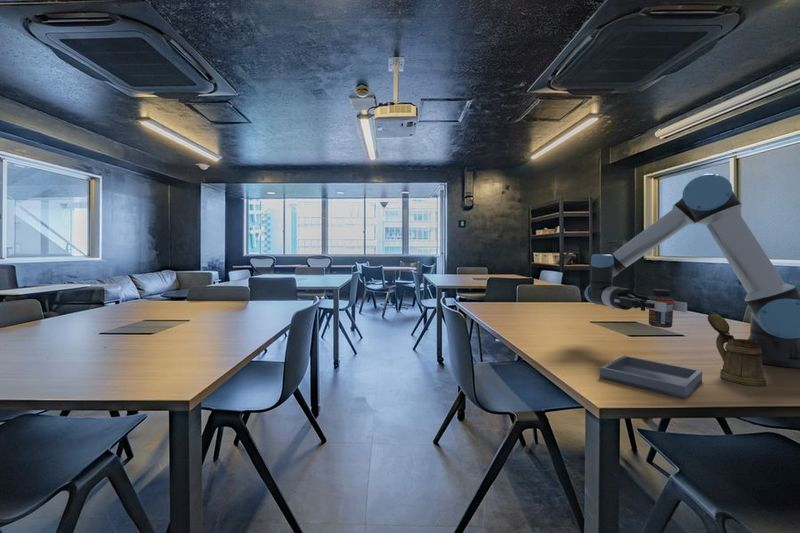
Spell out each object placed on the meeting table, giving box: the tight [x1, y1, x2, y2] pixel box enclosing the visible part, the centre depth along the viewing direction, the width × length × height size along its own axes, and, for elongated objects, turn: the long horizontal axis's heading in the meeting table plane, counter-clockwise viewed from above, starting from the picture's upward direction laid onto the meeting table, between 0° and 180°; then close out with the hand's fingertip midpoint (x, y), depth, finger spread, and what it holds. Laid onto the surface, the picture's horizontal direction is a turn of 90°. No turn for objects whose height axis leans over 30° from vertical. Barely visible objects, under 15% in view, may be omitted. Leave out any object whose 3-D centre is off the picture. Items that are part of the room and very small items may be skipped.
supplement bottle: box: [648, 288, 674, 329], centre depth 109 cm, size 6×6×11 cm
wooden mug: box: [707, 310, 767, 387], centre depth 100 cm, size 9×14×18 cm, turn 12°
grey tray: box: [599, 355, 703, 400], centre depth 98 cm, size 19×19×3 cm
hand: (675, 307), depth 104 cm, fingers closed on supplement bottle, 6 cm apart
